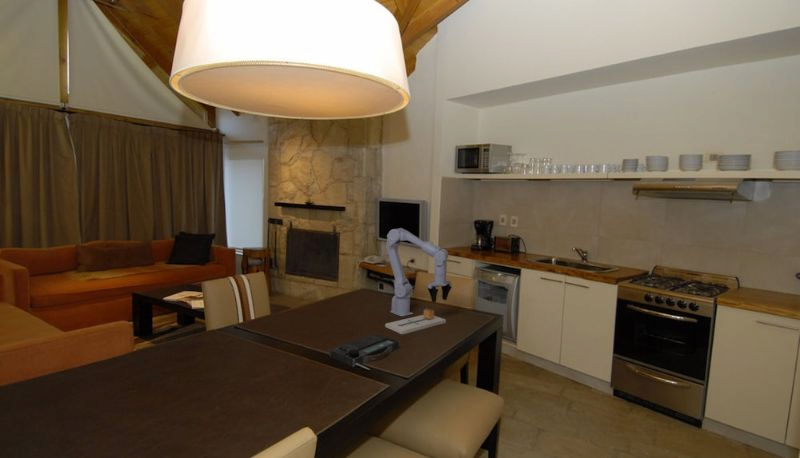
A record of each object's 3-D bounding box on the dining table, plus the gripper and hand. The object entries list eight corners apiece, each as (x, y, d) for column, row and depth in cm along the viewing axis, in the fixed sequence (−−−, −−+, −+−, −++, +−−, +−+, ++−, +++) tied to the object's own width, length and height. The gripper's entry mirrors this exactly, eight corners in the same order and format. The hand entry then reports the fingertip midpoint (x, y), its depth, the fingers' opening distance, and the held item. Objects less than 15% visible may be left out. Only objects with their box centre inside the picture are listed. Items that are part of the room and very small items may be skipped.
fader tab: (423, 317, 197) (423, 308, 197) (427, 315, 199) (428, 307, 199) (429, 319, 194) (429, 310, 194) (433, 318, 196) (433, 309, 196)
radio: (375, 330, 171) (412, 343, 158) (375, 340, 171) (412, 353, 158) (329, 346, 151) (367, 362, 139) (329, 357, 152) (367, 374, 139)
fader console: (385, 326, 187) (385, 323, 187) (428, 316, 205) (428, 313, 205) (402, 334, 178) (402, 330, 178) (445, 322, 196) (445, 319, 196)
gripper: (435, 276, 191) (434, 304, 192) (456, 273, 201) (455, 300, 202) (425, 274, 197) (424, 301, 198) (446, 271, 206) (444, 297, 207)
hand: (439, 300), depth 200 cm, fingers open, 7 cm apart
